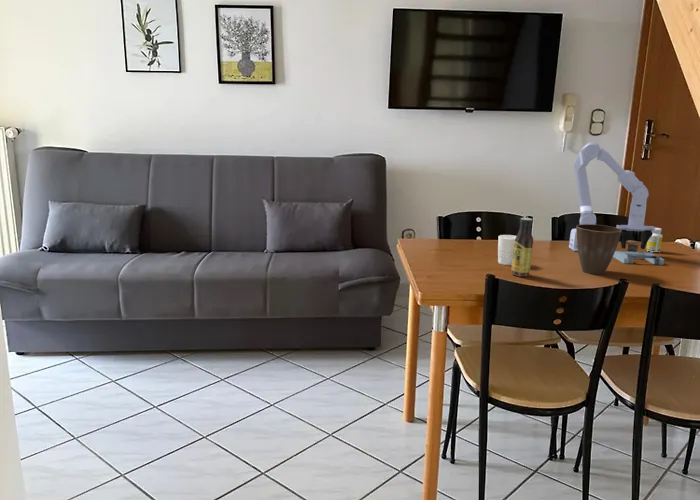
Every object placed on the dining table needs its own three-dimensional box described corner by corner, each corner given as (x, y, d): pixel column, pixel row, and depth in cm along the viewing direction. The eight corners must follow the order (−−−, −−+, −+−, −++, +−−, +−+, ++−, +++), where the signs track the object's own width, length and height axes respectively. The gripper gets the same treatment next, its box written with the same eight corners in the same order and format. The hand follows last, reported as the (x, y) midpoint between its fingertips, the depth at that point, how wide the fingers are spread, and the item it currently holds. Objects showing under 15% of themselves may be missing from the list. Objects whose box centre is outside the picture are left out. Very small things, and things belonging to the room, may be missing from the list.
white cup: (518, 262, 229) (521, 236, 227) (517, 266, 222) (519, 239, 220) (497, 259, 232) (499, 234, 230) (495, 264, 225) (497, 237, 222)
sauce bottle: (508, 272, 213) (513, 216, 209) (525, 272, 214) (531, 216, 209) (514, 277, 207) (520, 219, 202) (532, 277, 207) (538, 220, 203)
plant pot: (579, 264, 228) (584, 222, 225) (621, 271, 219) (627, 228, 216) (565, 271, 217) (570, 227, 214) (608, 279, 208) (614, 233, 204)
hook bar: (628, 263, 232) (629, 255, 231) (626, 262, 234) (627, 254, 233) (659, 264, 232) (660, 256, 231) (657, 263, 233) (658, 255, 233)
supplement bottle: (657, 250, 257) (660, 227, 255) (662, 253, 252) (665, 230, 250) (643, 249, 258) (647, 227, 256) (648, 252, 253) (652, 229, 250)
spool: (627, 256, 245) (629, 243, 244) (622, 253, 250) (624, 240, 249) (640, 256, 245) (642, 243, 244) (635, 253, 250) (637, 240, 249)
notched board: (623, 263, 232) (624, 258, 232) (610, 255, 245) (611, 250, 244) (663, 264, 232) (664, 259, 231) (648, 256, 244) (649, 252, 244)
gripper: (622, 216, 240) (618, 249, 243) (660, 217, 240) (655, 251, 243) (615, 213, 247) (611, 246, 250) (652, 214, 247) (647, 247, 250)
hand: (632, 248), depth 247 cm, fingers open, 7 cm apart
